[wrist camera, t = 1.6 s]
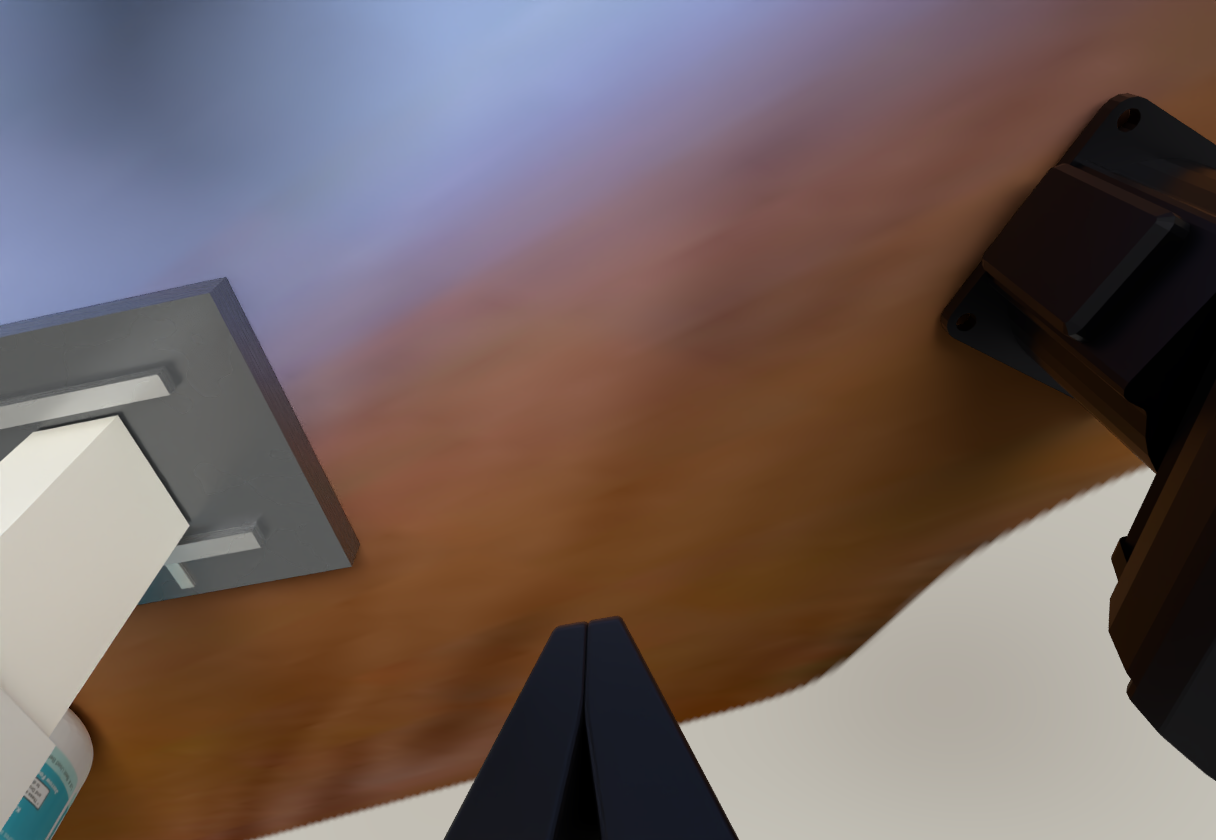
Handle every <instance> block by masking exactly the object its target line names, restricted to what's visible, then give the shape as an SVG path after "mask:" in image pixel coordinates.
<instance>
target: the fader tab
mask: <svg viewBox="0 0 1216 840" xmlns="http://www.w3.org/2000/svg"><path fill="white" fill-rule="evenodd" d="M189 526H190V525H189V524H188V522H187V521H186V519H185V518H184V516H183V515H182V513H181V512H180V510H179V509H178V507H177V505H176V504H175V502H174V501H173V499H172V498H171V496H170V495H169V493H168V492H167V490H166V489H165V487H164V485H163V484H162V482H161V481H160V479H159V478H158V476H157V475H156V473H155V472H154V470H153V469H152V467H151V465H150V464H149V462H148V461H147V459H146V458H145V456H144V455H143V453H142V452H141V450H140V448H139V447H138V445H137V444H136V442H135V441H134V439H133V438H132V436H131V435H130V433H129V432H128V430H127V428H126V427H125V425H124V424H123V422H122V421H121V419H120V418H119V416H118V415H116V416H111V417H106V418H101V419H97V420H92V421H87V422H82V423H77V424H72V425H67V426H62V427H57V428H52V429H47V430H42V431H37V432H33V433H32V434H30V435H29V436H28V437H27V438H26V439H25V440H24V441H23V442H22V443H20V444H19V445H18V446H17V447H16V448H15V449H14V450H13V451H12V452H10V453H9V454H8V455H7V456H6V457H5V458H4V459H3V460H2V461H1V462H0V831H1V830H2V828H3V827H4V825H5V824H6V822H7V820H8V819H9V817H10V816H11V814H12V813H13V811H14V810H15V808H16V807H17V805H18V804H19V802H20V800H21V799H22V797H23V796H24V794H25V793H26V791H27V790H28V788H29V787H30V785H31V783H32V782H33V780H34V779H35V777H36V776H37V774H38V773H39V771H40V770H41V768H42V767H43V765H44V763H45V762H46V760H47V759H48V757H49V756H50V754H51V753H52V751H53V750H54V748H55V746H56V745H55V744H54V743H53V742H52V741H51V740H50V739H49V737H50V735H51V733H52V732H53V730H54V729H55V727H56V726H57V724H58V723H59V721H60V720H61V718H62V717H63V715H64V714H65V712H66V711H67V709H68V708H69V706H70V705H71V703H72V702H73V700H74V699H75V697H76V696H77V694H78V693H79V691H80V690H81V688H82V687H83V685H84V684H85V682H86V681H87V679H88V678H89V676H90V675H91V673H92V672H93V670H94V669H95V667H96V666H97V664H98V663H99V661H100V660H101V658H102V657H103V655H104V654H105V652H106V651H107V649H108V648H109V646H110V645H111V643H112V642H113V640H114V639H115V637H116V636H117V634H118V633H119V631H120V630H121V628H122V627H123V625H124V624H125V622H126V621H127V619H128V618H129V616H130V615H131V613H132V612H133V610H134V609H135V607H136V606H137V604H138V602H139V601H140V599H141V598H142V596H143V595H144V593H145V592H146V590H147V589H148V587H149V586H150V584H151V583H152V581H153V580H154V578H155V577H156V575H157V574H158V572H159V571H160V569H161V568H162V566H163V565H164V563H165V562H166V560H167V559H168V557H169V556H170V554H171V553H172V551H173V550H174V548H175V547H176V545H177V544H178V542H179V541H180V539H181V538H182V536H183V535H184V533H185V532H186V530H187V529H188V527H189Z"/></svg>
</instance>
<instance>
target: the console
mask: <svg viewBox="0 0 1216 840" xmlns="http://www.w3.org/2000/svg"><path fill="white" fill-rule="evenodd" d="M116 415H118V416H119V418H120V419H121V421H122V422H123V424H124V425H125V427H126V428H127V430H128V432H129V433H130V435H131V436H132V438H133V439H134V441H135V442H136V444H137V445H138V447H139V448H140V450H141V452H142V453H143V455H144V456H145V458H146V459H147V461H148V462H149V464H150V465H151V467H152V469H153V470H154V472H155V473H156V475H157V476H158V478H159V479H160V481H161V482H162V484H163V485H164V487H165V489H166V490H167V492H168V493H169V495H170V496H171V498H172V499H173V501H174V502H175V504H176V505H177V507H178V509H179V510H180V512H181V513H182V515H183V516H184V518H185V519H186V521H187V522H188V524H189V525H190V526H189V527H188V529H187V530H186V532H185V533H184V535H183V536H182V538H181V539H180V541H179V542H178V544H177V545H176V547H175V548H174V550H173V551H172V553H171V554H170V556H169V557H168V559H167V560H166V562H165V563H164V565H163V566H162V568H161V569H160V571H159V572H158V574H157V575H156V577H155V578H154V580H153V581H152V583H151V584H150V586H149V587H148V589H147V590H146V592H145V593H144V595H143V596H142V598H141V599H140V601H139V602H138V604H137V605H140V604H146V603H151V602H157V601H162V600H168V599H173V598H179V597H185V596H190V595H196V594H201V593H207V592H212V591H218V590H224V589H229V588H235V587H240V586H246V585H251V584H257V583H263V582H268V581H274V580H279V579H285V578H290V577H296V576H302V575H307V574H313V573H318V572H324V571H329V570H335V569H341V568H346V567H352V565H353V562H354V559H355V556H356V554H357V551H358V548H359V545H360V543H359V541H358V539H357V537H356V535H355V533H354V531H353V529H352V527H351V525H350V523H349V521H348V519H347V517H346V515H345V514H344V512H343V510H342V508H341V506H340V504H339V502H338V500H337V498H336V496H335V494H334V492H333V490H332V488H331V486H330V484H329V482H328V480H327V478H326V476H325V474H324V472H323V470H322V468H321V466H320V464H319V462H318V460H317V458H316V456H315V454H314V452H313V450H312V448H311V446H310V444H309V442H308V440H307V438H306V436H305V434H304V432H303V430H302V428H301V426H300V424H299V422H298V420H297V418H296V416H295V414H294V412H293V410H292V408H291V406H290V404H289V402H288V400H287V398H286V396H285V394H284V392H283V390H282V388H281V386H280V384H279V382H278V380H277V378H276V376H275V374H274V372H273V370H272V368H271V366H270V364H269V362H268V360H267V358H266V356H265V354H264V352H263V350H262V348H261V346H260V344H259V342H258V340H257V338H256V336H255V334H254V332H253V330H252V328H251V326H250V324H249V322H248V320H247V318H246V316H245V314H244V312H243V310H242V308H241V306H240V304H239V302H238V300H237V298H236V296H235V294H234V292H233V290H232V288H231V286H230V284H229V282H228V280H227V278H226V277H224V278H219V279H215V280H210V281H205V282H201V283H196V284H191V285H187V286H182V287H177V288H173V289H168V290H164V291H159V292H154V293H150V294H145V295H140V296H136V297H131V298H126V299H122V300H117V301H112V302H108V303H103V304H98V305H94V306H89V307H84V308H80V309H75V310H70V311H66V312H61V313H56V314H52V315H47V316H42V317H38V318H33V319H28V320H24V321H19V322H14V323H10V324H5V325H0V462H1V461H2V460H3V459H4V458H5V457H6V456H7V455H8V454H9V453H10V452H12V451H13V450H14V449H15V448H16V447H17V446H18V445H19V444H20V443H22V442H23V441H24V440H25V439H26V438H27V437H28V436H29V435H30V434H32V433H33V432H37V431H42V430H47V429H52V428H57V427H62V426H67V425H72V424H77V423H82V422H87V421H92V420H97V419H101V418H106V417H111V416H116Z"/></svg>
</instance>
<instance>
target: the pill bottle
mask: <svg viewBox="0 0 1216 840" xmlns="http://www.w3.org/2000/svg"><path fill="white" fill-rule="evenodd" d="M49 739H50V740H51V741H52V742H53V743H54V744H55V745H56V746H55V748H54V750H53V751H52V753H51V754H50V756H49V757H48V759H47V760H46V762H45V763H44V765H43V767H42V768H41V770H40V771H39V773H38V774H37V776H36V777H35V779H34V780H33V782H32V783H31V785H30V787H29V788H28V790H27V791H26V793H25V794H24V796H23V797H22V799H21V800H20V802H19V804H18V805H17V807H16V808H15V810H14V811H13V813H12V814H11V816H10V817H9V819H8V820H7V822H6V824H5V825H4V827H3V828H2V830H1V831H0V840H51V839H52V837H53V836H54V834H55V832H56V831H57V829H58V827H59V825H60V824H61V822H62V820H63V818H64V817H65V815H66V813H67V811H68V810H69V808H70V806H71V805H72V803H73V801H74V799H75V798H76V796H77V794H78V792H79V791H80V789H81V787H82V785H83V784H84V782H85V780H86V778H87V776H88V774H89V772H90V769H91V766H92V761H93V745H92V741H91V738H90V735H89V733H88V731H87V729H86V727H85V726H84V724H83V723H82V721H81V720H80V719H79V718H78V717H77V715H76V714H75V713H74V712H73V711H72V710H71V709H70V708H68V709H67V711H66V712H65V714H64V715H63V717H62V718H61V720H60V721H59V723H58V724H57V726H56V727H55V729H54V730H53V732H52V733H51V735H50V737H49Z"/></svg>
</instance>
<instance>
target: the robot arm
mask: <svg viewBox="0 0 1216 840" xmlns="http://www.w3.org/2000/svg"><path fill="white" fill-rule="evenodd" d="M1128 109H1129V110H1130V116H1129V118H1128V120H1127V122H1126V123H1125V124H1124V125H1122V126H1121V127H1118V128H1117V121H1118V119H1119V117H1120V115H1121V114H1122V113H1123V112H1124V111H1126V110H1128ZM967 313H970V316H969V318H968V320H967V321H965V322H964V323H963V324H959V325H957V324H956V323H957V321H958V319H959V318H960V317H961V316H962V315H964V314H967ZM941 324H942V326H943V328H944V329H945V330H946V331H947V332H948V333H949V334H950V335H951V336H952V337H953V338H955V339H957V340H959V341H961V342H963V343H965V344H967V345H969V346H971V347H973V348H975V349H977V350H979V351H981V352H983V353H985V354H987V355H989V356H990V357H992V358H994V359H996V360H998V361H1000V362H1002V363H1004V364H1006V365H1008V366H1010V367H1012V368H1014V369H1016V370H1018V371H1020V372H1022V373H1024V374H1026V375H1028V376H1030V377H1032V378H1034V379H1036V380H1038V381H1040V382H1042V383H1044V384H1046V385H1048V386H1050V387H1052V388H1054V389H1056V390H1058V391H1060V392H1062V393H1064V394H1066V395H1068V396H1070V397H1072V398H1074V399H1076V400H1077V401H1078V402H1079V403H1080V404H1081V405H1082V406H1083V407H1084V408H1085V409H1087V410H1088V411H1089V412H1090V413H1091V414H1092V415H1093V416H1094V417H1095V418H1096V419H1097V420H1098V421H1099V422H1101V423H1102V424H1103V425H1104V426H1105V427H1106V428H1107V429H1108V430H1109V431H1110V432H1111V433H1112V434H1113V435H1115V436H1116V437H1117V438H1118V439H1119V440H1120V441H1121V442H1122V443H1123V444H1124V445H1125V446H1126V447H1128V448H1129V449H1130V450H1131V451H1132V452H1133V453H1134V454H1135V455H1136V456H1137V457H1138V458H1139V459H1140V460H1142V461H1143V462H1144V463H1145V464H1146V465H1147V466H1148V467H1149V468H1150V469H1151V470H1152V471H1153V472H1154V473H1156V476H1155V478H1154V480H1153V482H1152V484H1151V486H1150V489H1149V491H1148V493H1147V495H1146V497H1145V499H1144V501H1143V503H1142V506H1141V508H1140V510H1139V512H1138V514H1137V516H1136V518H1135V520H1134V523H1133V525H1132V527H1131V529H1130V531H1129V533H1128V536H1125V537H1122V538H1120V540H1119V542H1118V544H1117V546H1116V548H1115V550H1114V552H1113V554H1112V557H1111V560H1112V564H1113V566H1114V569H1115V573H1116V576H1117V579H1118V583H1117V585H1116V587H1115V589H1114V591H1113V593H1112V596H1111V598H1110V611H1109V633H1110V636H1111V638H1112V641H1113V642H1114V645H1115V647H1116V650H1117V652H1118V654H1119V657H1120V659H1121V661H1122V664H1123V666H1124V668H1125V670H1126V673H1127V674H1128V676H1129V677H1130V678H1131V680H1130V682H1129V684H1128V686H1127V695H1128V697H1129V699H1130V700H1131V702H1132V703H1133V704H1134V705H1135V706H1136V707H1137V708H1138V710H1139V711H1140V712H1141V713H1142V714H1143V715H1144V716H1145V718H1146V719H1147V720H1148V721H1149V722H1150V723H1151V725H1152V726H1153V727H1154V728H1155V729H1156V730H1157V732H1158V733H1159V734H1160V735H1161V736H1163V738H1164V739H1166V740H1167V741H1168V742H1169V743H1170V744H1171V745H1172V746H1174V747H1175V748H1176V749H1177V750H1178V751H1180V752H1181V753H1182V754H1183V755H1184V756H1185V757H1186V758H1188V759H1189V760H1190V761H1191V762H1193V764H1195V765H1196V766H1197V767H1198V768H1199V769H1201V770H1202V771H1203V772H1204V773H1205V774H1206V775H1208V776H1209V777H1211V778H1212V779H1214V780H1215V781H1216V145H1215V144H1213V143H1212V142H1210V141H1209V140H1207V139H1206V138H1204V137H1203V136H1201V135H1200V134H1198V133H1197V132H1195V131H1194V130H1192V129H1191V128H1189V127H1188V126H1186V125H1185V124H1183V123H1182V122H1180V121H1179V120H1177V119H1176V118H1174V117H1173V116H1171V115H1170V114H1168V113H1167V112H1165V111H1164V110H1162V109H1161V108H1159V107H1158V106H1156V105H1155V104H1153V103H1152V102H1150V101H1149V100H1147V99H1145V98H1142V97H1139V96H1135V95H1132V94H1128V93H1126V94H1119V95H1117V96H1115V97H1113V98H1111V99H1110V100H1109V101H1108V102H1107V103H1106V104H1104V105H1103V106H1102V108H1101V109H1100V110H1099V112H1098V113H1097V114H1096V115H1095V117H1094V118H1093V119H1092V120H1091V122H1090V123H1089V124H1088V126H1087V127H1086V128H1085V129H1084V131H1083V132H1082V133H1081V135H1080V136H1079V137H1078V138H1077V140H1076V141H1075V142H1074V144H1073V145H1072V146H1071V147H1070V149H1069V150H1068V151H1067V153H1066V154H1065V155H1064V156H1063V158H1062V159H1061V160H1060V162H1059V163H1058V164H1057V165H1056V166H1055V167H1053V168H1051V169H1050V170H1049V171H1048V172H1047V174H1046V175H1045V176H1044V178H1043V179H1042V180H1041V181H1040V183H1039V184H1038V185H1037V187H1036V188H1035V189H1034V190H1033V192H1032V193H1031V194H1030V196H1029V197H1028V198H1027V199H1026V201H1025V202H1024V203H1023V205H1022V206H1021V207H1020V208H1019V210H1018V211H1017V212H1016V214H1015V215H1014V216H1013V217H1012V219H1011V220H1010V221H1009V223H1008V224H1007V225H1006V226H1005V228H1004V229H1003V230H1002V232H1001V233H1000V234H999V235H998V237H997V238H996V239H995V241H994V242H993V243H992V244H991V246H990V247H989V248H988V250H987V251H986V252H985V253H984V255H983V260H982V262H981V263H980V264H979V265H978V267H977V268H976V269H975V271H974V272H973V273H972V274H971V276H970V277H969V278H968V279H967V281H966V282H965V283H964V285H963V286H962V287H961V288H960V290H959V291H958V292H957V294H956V295H955V296H954V297H953V299H952V300H951V301H950V303H949V304H948V305H947V306H946V308H945V309H944V311H943V313H942V315H941ZM444 840H739V839H738V837H737V835H736V833H735V831H734V829H733V827H732V825H731V823H730V822H729V820H728V818H727V816H726V814H725V812H724V810H723V808H722V806H721V805H720V803H719V801H718V799H717V797H716V795H715V793H714V791H713V789H712V787H711V786H710V784H709V782H708V780H707V778H706V776H705V774H704V772H703V770H702V769H701V767H700V765H699V763H698V761H697V759H696V757H695V755H694V754H693V752H692V750H691V748H690V746H689V744H688V742H687V740H686V738H685V736H684V734H683V733H682V731H681V729H680V727H679V725H678V723H677V721H676V719H675V717H674V715H673V714H672V712H671V710H670V708H669V706H668V704H667V702H666V700H665V698H664V696H663V695H662V693H661V691H660V689H659V687H658V685H657V683H656V681H655V679H654V678H653V676H652V674H651V672H650V670H649V668H648V666H647V664H646V662H645V660H644V659H643V657H642V655H641V653H640V651H639V649H638V647H637V645H636V643H635V642H634V640H633V638H632V636H631V634H630V632H629V630H628V628H627V626H626V624H625V623H624V621H623V619H622V618H621V617H619V616H613V617H607V618H601V619H595V620H591V621H590V622H589V623H587V622H578V623H572V624H566V625H560V626H558V627H556V628H555V629H554V630H553V632H552V634H551V636H550V638H549V640H548V642H547V643H546V645H545V647H544V649H543V651H542V653H541V655H540V657H539V659H538V661H537V663H536V664H535V666H534V668H533V670H532V672H531V674H530V676H529V678H528V680H527V682H526V683H525V685H524V687H523V689H522V691H521V693H520V695H519V697H518V699H517V701H516V703H515V704H514V706H513V708H512V710H511V712H510V714H509V716H508V718H507V720H506V722H505V724H504V725H503V727H502V729H501V731H500V733H499V735H498V737H497V739H496V741H495V743H494V745H493V746H492V748H491V750H490V752H489V754H488V756H487V758H486V760H485V762H484V764H483V765H482V767H481V769H480V771H479V773H478V775H477V777H476V779H475V781H474V783H473V785H472V786H471V789H470V790H469V792H468V794H467V796H466V798H465V800H464V802H463V804H462V806H461V808H460V809H459V811H458V813H457V815H456V817H455V819H454V821H453V823H452V825H451V827H450V828H449V830H448V832H447V834H446V836H445V838H444Z"/></svg>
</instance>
